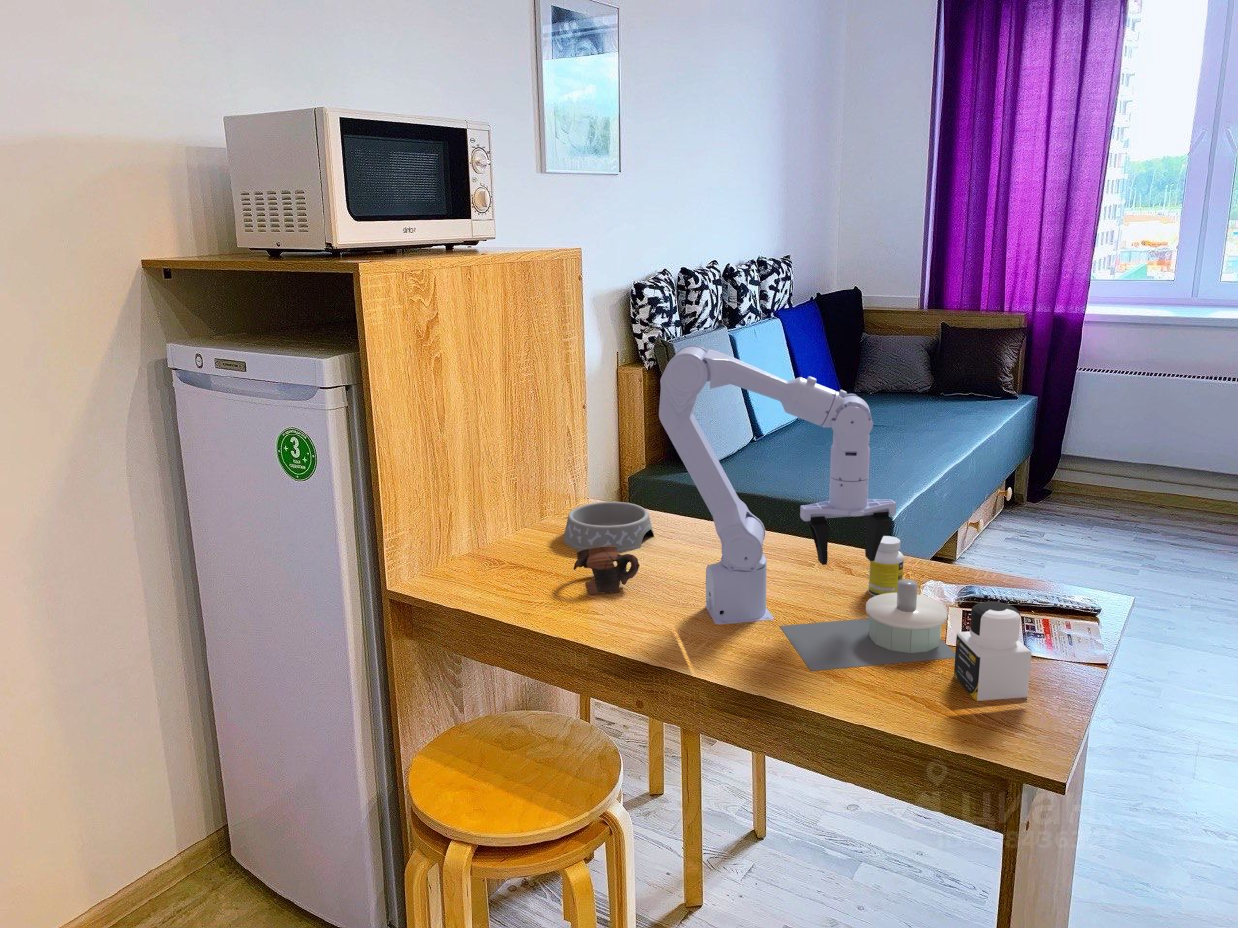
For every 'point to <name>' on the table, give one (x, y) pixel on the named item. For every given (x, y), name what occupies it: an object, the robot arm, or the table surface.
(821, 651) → the mat
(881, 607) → the lid
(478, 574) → the table surface
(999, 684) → the medicine bottle
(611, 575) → the pottery mug
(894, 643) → the bowl
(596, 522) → the dog bowl
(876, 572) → the supplement bottle
